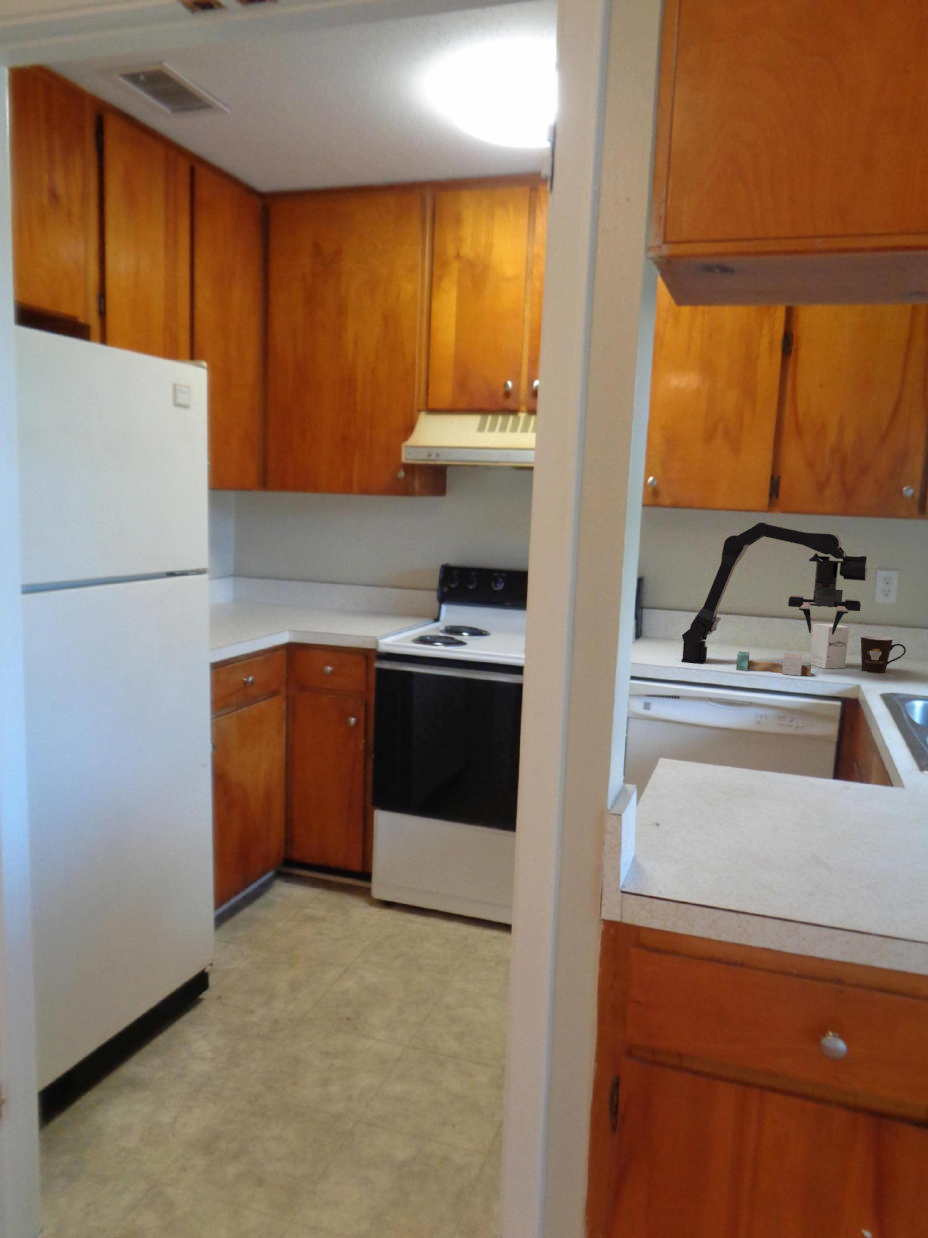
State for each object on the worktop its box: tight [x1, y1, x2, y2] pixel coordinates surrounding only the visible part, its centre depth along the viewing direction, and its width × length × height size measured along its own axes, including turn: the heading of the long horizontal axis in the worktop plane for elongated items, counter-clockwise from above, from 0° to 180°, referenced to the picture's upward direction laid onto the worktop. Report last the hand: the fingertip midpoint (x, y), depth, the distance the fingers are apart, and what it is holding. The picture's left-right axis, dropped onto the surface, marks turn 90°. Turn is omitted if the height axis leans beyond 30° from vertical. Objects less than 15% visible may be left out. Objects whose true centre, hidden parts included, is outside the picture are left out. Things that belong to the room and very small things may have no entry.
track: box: [735, 650, 812, 677], centre depth 258 cm, size 20×7×4 cm, turn 69°
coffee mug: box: [860, 635, 907, 674], centre depth 263 cm, size 12×9×10 cm
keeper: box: [781, 652, 803, 676], centre depth 256 cm, size 5×7×5 cm
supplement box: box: [809, 623, 850, 669], centre depth 270 cm, size 7×7×13 cm
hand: (821, 633), depth 252 cm, fingers open, 6 cm apart
